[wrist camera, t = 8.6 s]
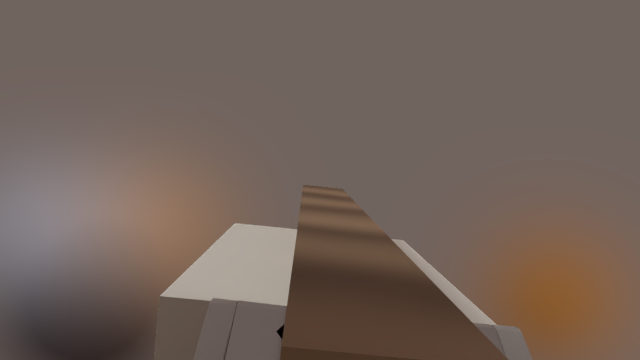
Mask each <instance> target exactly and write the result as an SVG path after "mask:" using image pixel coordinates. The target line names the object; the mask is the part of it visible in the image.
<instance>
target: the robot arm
mask: <svg viewBox="0 0 640 360" xmlns="http://www.w3.org/2000/svg"><path fill="white" fill-rule="evenodd" d="M286 309H287V306H282V305H273V304H265V303H257V302H248V301H240V300H239V301H237V300H228V299H220V298H213V299H212V300H211V302H210V304H209V307H208V310H207V314H206V317H205V321H204V324H203V327H202V331H201V334H200V338H199V341H198V345H197V348H196V352H195V355H194V359H193V360H280V355H281V346H282V338H283V331H284V324H285V316H286ZM473 324H474V325H475V326H476V327H477V328H478V329H479V330H480V331H481V332H482V333H483V334H484V335H485V336H486V337H487V338H488V339H489V340H490V341H491V342H492V343H493V344H494V345H495V346H496V347H497V348H498V349H499V350H500V351H501V352H502V353H503V354H504V356H505V357H506V358H507V359H508V360H532V357H531V355H530V353H529V350H528V347H527V345H526V342H525V340H524V337H523V335H522V332H521V331H520V330H519V329H518V328H517V327H512V326H501V325H489V324H481V323H473Z"/></svg>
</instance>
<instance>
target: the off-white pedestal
mask: <svg viewBox="0 0 640 360" xmlns="http://www.w3.org/2000/svg"><path fill="white" fill-rule="evenodd" d="M296 235H297V229H287V228H277V227H268V226H258V225H248V224H238V223H235V224H234V225H233V226H232V227H231V228H230V229H228V231H226V232H225V233H224V235H222V236H221V237H220V238H219V239H218V240H217V241H216V242H215V243H214V244H213V245H212V246H211V247H210V248H209V249H208V250H207V251H206V252H205V253H204V254H203V255H202V256H201V257H200V258H199V259H198V260H197V261H195V263H193V264H192V266H190V267H189V268H188V269H187V270H186V271H185V272H184V273H183V274H182V275H181V276H180V277H179V278H178V279H177V280H176V281H175V282H174V283H173V284H172V285H171V286H170V287H169V288H168V289H167V290H166V291H165V292H163V294H161V295H160V300H159V311H158V322H157V334H156V345H155V356H154V360H193V359H194V355H195V352H196V348H197V345H198V341H199V338H200V334H201V331H202V327H203V324H204V321H205V317H206V314H207V310H208V307H209V304H210V302H211V300H212V299H213V298H220V299H228V300H237V301H239V300H240V301H248V302H257V303H265V304H273V305H282V306H287V302H288V294H289V287H290V280H291V272H292V265H293V257H294V250H295V243H296ZM391 240H392V241H393V242H394V243H395V244H396V245H397V246H398V247H399V248H400V249H401V250H402V251H403V252H404V253H405V254H406V255H407V256H408V257H409V258H410V259H411V260H412V261H413V262H414V263H415V264H416V265H417V266H418V267H419V268H420V269H421V270H422V271H423V272H424V273H425V274H426V275H427V277H428V278H429V279H430V280H431V281H432V282H433V283H434V284H435V285H436V286H437V287H438V288H439V289H440V290H441V291H442V292H443V293H444V294H445V295H446V296H447V297H448V298H449V299H450V300H451V301H452V302H453V303H454V304H455V305H456V306H457V307H458V308H459V309H460V310H461V311H462V312H463V313H464V314H465V315H466V317H467V318H468V319H469V320H470V321H471V322H472V323H481V324H489V325H496V324H495V323H494V322H493V321H492V320H491V319H490V318H489V317H487V316H486V315H485V314H484V313H483V312H482V311H481V310H480V309H479V308H477V307H476V306H475V305H474V304H473V303H472V302H471V301H470V300H469V299H468V298H466V297H465V296H464V295H463V294H462V293H461V292H460V291H459V290H458V289H456V288H455V287H454V286H453V285H452V284H451V283H450V282H449V281H448V280H447V279H445V278H444V277H443V276H442V275H441V274H440V273H439V272H438V271H437V270H435V269H434V268H433V267H432V266H431V265H430V264H429V263H428V262H427V261H425V260H424V259H423V258H422V257H421V256H420V255H419V254H418V253H417V252H416V251H414V250H413V249H412V248H411V247H410V246H409V245H408V244H407V243H405V242H404V241H403V240H396V239H391Z"/></svg>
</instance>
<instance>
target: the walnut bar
mask: <svg viewBox="0 0 640 360" xmlns="http://www.w3.org/2000/svg"><path fill="white" fill-rule="evenodd" d="M280 360H508V359H507V358H506V357H505V356H504V354H503V353H502V352H501V351H500V350H499V349H498V348H497V347H496V346H495V345H494V344H493V343H492V342H491V341H490V340H489V339H488V338H487V337H486V336H485V335H484V334H483V333H482V332H481V331H480V330H479V329H478V328H477V327H476V326H475V325H474V324H473V323H472V322H471V321H470V320H469V319H468V318H467V317H466V315H465V314H464V313H463V312H462V311H461V310H460V309H459V308H458V307H457V306H456V305H455V304H454V303H453V302H452V301H451V300H450V299H449V298H448V297H447V296H446V295H445V294H444V293H443V292H442V291H441V290H440V289H439V288H438V287H437V286H436V285H435V284H434V283H433V282H432V281H431V280H430V279H429V278H428V277H427V275H426V274H425V273H424V272H423V271H422V270H421V269H420V268H419V267H418V266H417V265H416V264H415V263H414V262H413V261H412V260H411V259H410V258H409V257H408V256H407V255H406V254H405V253H404V252H403V251H402V250H401V249H400V248H399V247H398V246H397V245H396V244H395V243H394V242H393V241H392V240H391V239H390V238H389V236H387V234H385V232H384V231H383V230H382V229H381V228H380V227H379V226H378V225H377V224H376V223H375V222H374V221H373V220H372V219H371V218H370V217H369V216H368V215H367V214H366V213H365V212H364V211H363V210H362V209H361V208H360V207H359V206H358V205H357V204H356V203H355V202H354V201H353V200H352V199H351V197H349V196H348V194H347V193H346V192H345V191H343V189H337V188H328V187H317V186H308V185H303V191H302V199H301V206H300V214H299V221H298V228H297V235H296V243H295V250H294V257H293V265H292V272H291V280H290V287H289V294H288V302H287V309H286V316H285V324H284V331H283V338H282V346H281V355H280Z"/></svg>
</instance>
